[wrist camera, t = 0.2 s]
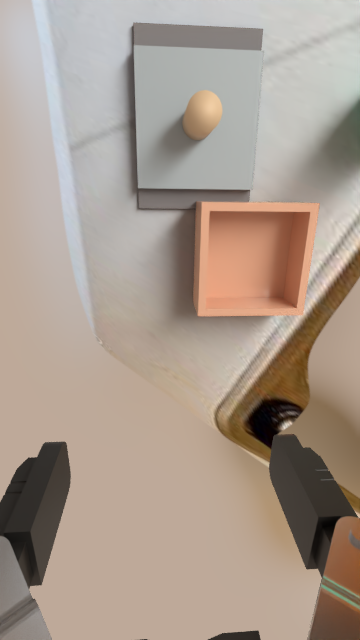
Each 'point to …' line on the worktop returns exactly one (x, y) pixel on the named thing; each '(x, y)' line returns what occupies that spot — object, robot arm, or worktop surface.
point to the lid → (196, 117)
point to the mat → (193, 39)
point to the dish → (252, 257)
